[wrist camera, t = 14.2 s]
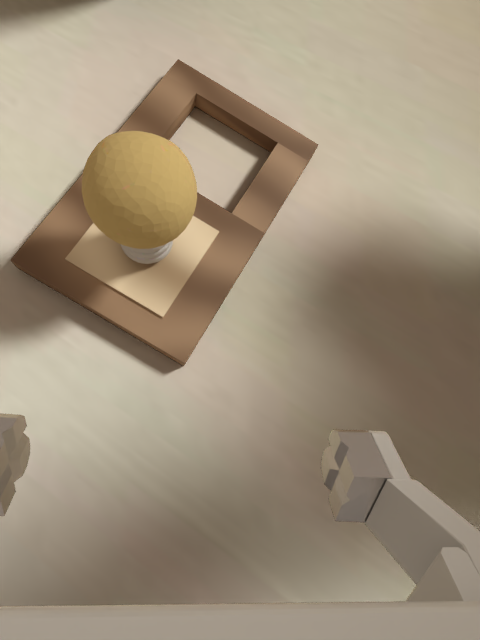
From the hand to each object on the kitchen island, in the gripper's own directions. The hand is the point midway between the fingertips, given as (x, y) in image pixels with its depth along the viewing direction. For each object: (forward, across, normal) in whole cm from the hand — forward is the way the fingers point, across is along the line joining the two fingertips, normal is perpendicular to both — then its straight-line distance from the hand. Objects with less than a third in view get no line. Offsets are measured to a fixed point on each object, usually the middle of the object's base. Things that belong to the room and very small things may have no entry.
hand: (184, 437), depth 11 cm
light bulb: (+21, +4, +3) cm, 22 cm away
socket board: (+25, +1, +1) cm, 25 cm away
